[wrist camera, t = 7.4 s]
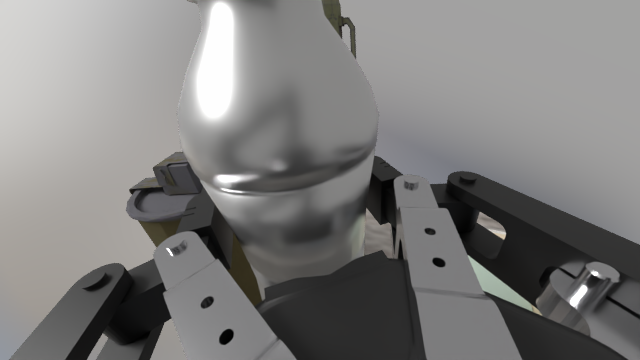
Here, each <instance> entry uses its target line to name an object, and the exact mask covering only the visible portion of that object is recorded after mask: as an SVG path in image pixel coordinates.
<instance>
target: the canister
mask: <svg viewBox="0 0 640 360" xmlns="http://www.w3.org/2000/svg"><path fill="white" fill-rule="evenodd" d="M153 171H154V173H155V176H156V177H153V178H145V179H144V180H142V181H141V182H140V183H138V184H137V185H135V186H134V187H132V188H131V189H130V190H129V191H130V193H131V194H132V196H131V197H130V199H129V201H128V202H127V208H126V211H127V213H128V214H129V216H130V217H131V218H133V219H136V220H138V221H139V222H140V224H141V225H142V227H143V228H144V230H145V231H146V233H147V234H148V235H149V237H150V238H151V240H152V241H153V243H154V244H155V246H156V247H158V246H159V245H160V244H161V243H162V242H163V241H165V240H166V239H167V238H169V237H171V236H173V235H175V234H176V231H177V229H178V226H179V224H180V221H181V219H182V217H183V214H184V211H185V209H186V206H187V203H188V202H189V201H190V200H191V199H192V198H193V197H194V196H195V195H199V194H201V191H202V188H203V185H202V184H201V182H200V179H199V178H198V177H197V175H196V174H195V173H194V171H193V170H192V168H191V166H190V164H189V162H188V160H187V158H186V156H185V155H184V153H183V152H175V153H174V154H172V155H171V156H169V157H168V158H166V159H165V160H163V161H162V162H160V163H159V164H157V165H156V166H155V167H153ZM227 271H228V273H229V274H230V275H231V277H232V278H233V279H234V281H235V282H236V283H237V285H238V286H239V287H240V289H241V290H242V291H243V293H244V294H245V295H246V297H247V298H248V299H249V301H250V302H251V303H252V305H253V306H255V305H257V304H258V303H259V302H261V301H262V298H261V294H260V290H259V286H258V283H257V279H256V276H255V274H254V272H253V270H252V268H251V265H250V263H249V262H248V260H247V258H246V256H245V254H244V252H243V250H242V248H241V246H240V244H239V242H238V240H237V238H236V236H235V234H234V232H233V246H232V260H231V269H229V270H227Z"/></svg>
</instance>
